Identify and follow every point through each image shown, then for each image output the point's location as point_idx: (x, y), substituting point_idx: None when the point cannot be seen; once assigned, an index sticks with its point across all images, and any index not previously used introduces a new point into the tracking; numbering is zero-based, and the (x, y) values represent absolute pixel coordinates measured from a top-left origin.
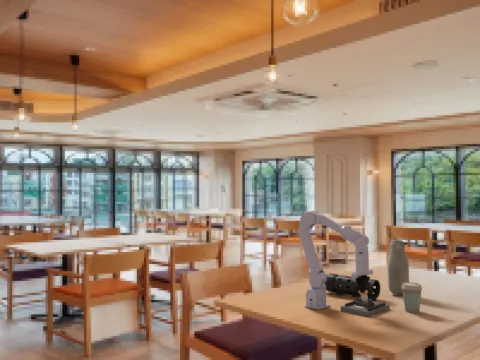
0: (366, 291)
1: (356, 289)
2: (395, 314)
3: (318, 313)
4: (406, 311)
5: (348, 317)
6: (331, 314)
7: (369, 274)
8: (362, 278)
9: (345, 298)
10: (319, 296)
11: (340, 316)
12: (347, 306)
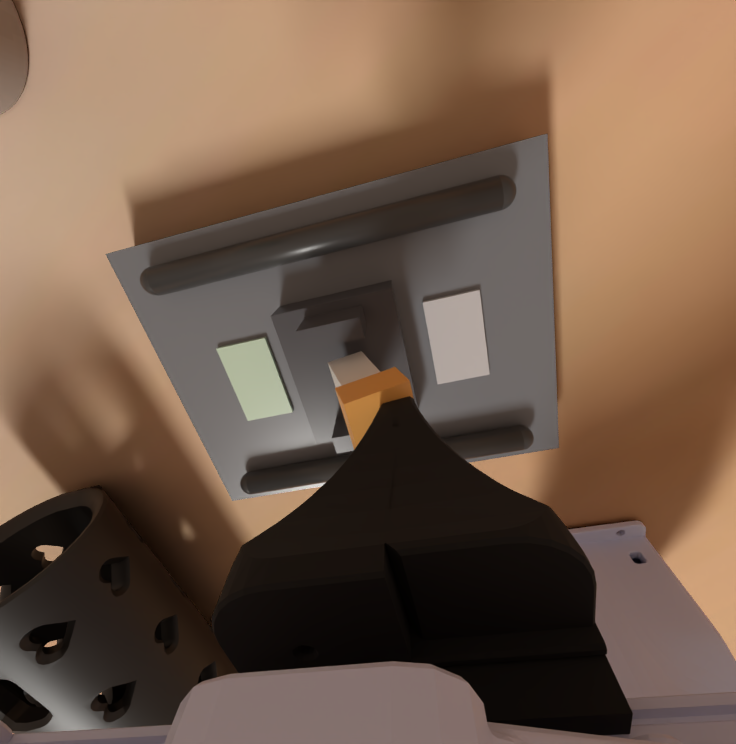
0: (370, 393)
1: (172, 627)
2: (209, 45)
3: (724, 464)
4: (25, 49)
5: (679, 252)
6: (686, 397)
7: (59, 733)
8: (591, 591)
9: None
10: (658, 621)
11: (695, 316)
12: (513, 418)
